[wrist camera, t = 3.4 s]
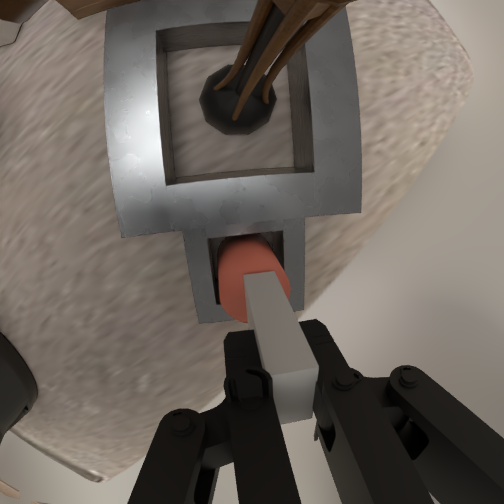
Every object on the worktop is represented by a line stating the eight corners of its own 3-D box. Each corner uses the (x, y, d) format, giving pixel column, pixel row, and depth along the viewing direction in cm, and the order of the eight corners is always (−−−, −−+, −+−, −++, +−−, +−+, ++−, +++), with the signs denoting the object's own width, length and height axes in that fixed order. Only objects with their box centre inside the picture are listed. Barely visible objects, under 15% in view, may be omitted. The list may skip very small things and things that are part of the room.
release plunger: (220, 284, 19) (224, 327, 15) (214, 233, 18) (215, 265, 13) (272, 277, 20) (290, 318, 15) (269, 227, 18) (289, 256, 14)
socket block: (156, 301, 21) (147, 332, 17) (124, 31, 13) (106, 10, 9) (332, 279, 22) (353, 305, 18) (321, 20, 14) (343, -1, 11)
